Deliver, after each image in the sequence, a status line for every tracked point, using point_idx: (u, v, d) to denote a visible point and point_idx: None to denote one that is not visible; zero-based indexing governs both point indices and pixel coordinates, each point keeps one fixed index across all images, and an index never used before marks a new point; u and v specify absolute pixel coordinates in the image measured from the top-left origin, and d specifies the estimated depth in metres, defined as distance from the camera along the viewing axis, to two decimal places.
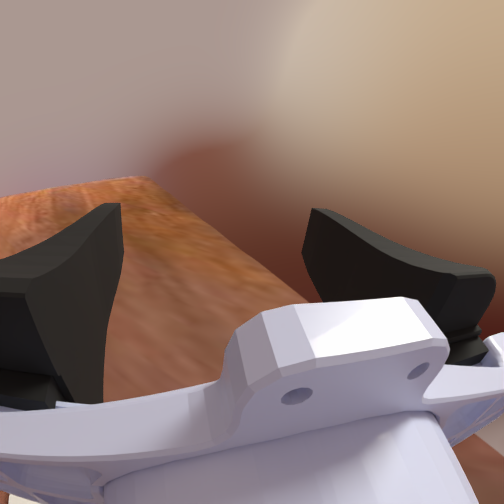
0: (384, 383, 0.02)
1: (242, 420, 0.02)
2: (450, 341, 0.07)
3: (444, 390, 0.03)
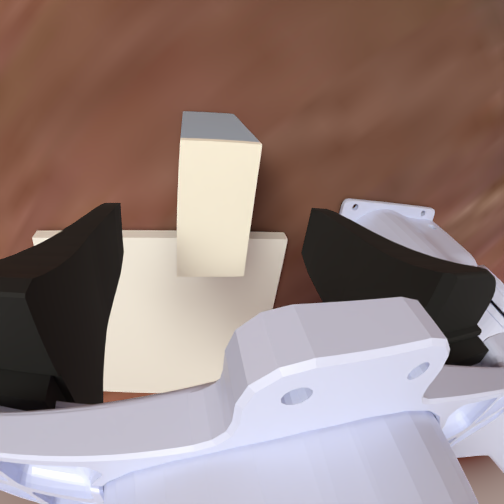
0: (384, 383, 0.02)
1: (242, 420, 0.02)
2: (450, 341, 0.07)
3: (444, 390, 0.03)
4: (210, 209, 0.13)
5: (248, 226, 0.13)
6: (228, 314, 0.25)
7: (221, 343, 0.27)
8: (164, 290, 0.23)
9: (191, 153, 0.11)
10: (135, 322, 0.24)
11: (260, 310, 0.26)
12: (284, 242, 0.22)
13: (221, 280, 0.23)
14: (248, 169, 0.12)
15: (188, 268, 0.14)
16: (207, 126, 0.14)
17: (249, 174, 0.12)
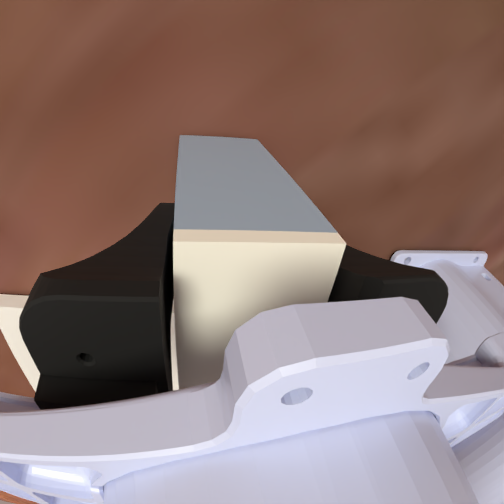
0: (384, 383, 0.02)
1: (241, 419, 0.02)
2: None
3: (444, 390, 0.03)
4: None
5: None
6: None
7: None
8: None
9: (198, 267, 0.05)
10: None
11: None
12: None
13: None
14: (314, 287, 0.06)
15: None
16: (224, 178, 0.08)
17: (315, 297, 0.06)
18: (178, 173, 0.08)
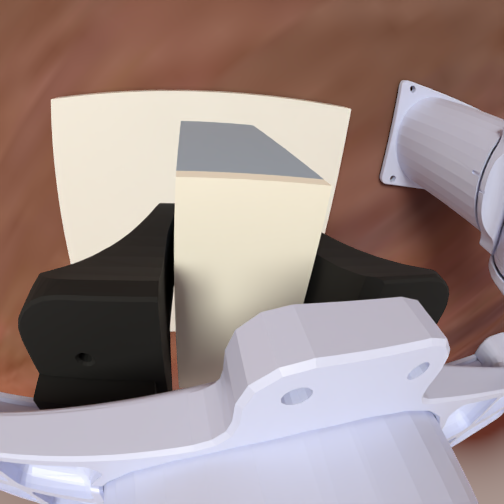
0: (384, 383, 0.02)
1: (241, 419, 0.02)
2: None
3: (444, 390, 0.03)
4: (233, 299, 0.07)
5: None
6: None
7: None
8: None
9: (197, 203, 0.06)
10: None
11: None
12: (347, 112, 0.18)
13: None
14: (304, 229, 0.07)
15: (196, 378, 0.08)
16: (221, 145, 0.08)
17: (306, 239, 0.07)
18: (180, 141, 0.08)
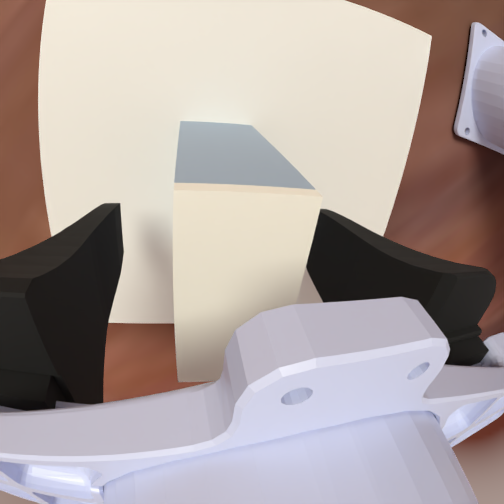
0: (384, 383, 0.02)
1: (242, 419, 0.02)
2: (450, 341, 0.07)
3: (444, 390, 0.03)
4: (229, 301, 0.08)
5: None
6: (353, 143, 0.14)
7: (331, 207, 0.16)
8: (260, 74, 0.12)
9: (194, 214, 0.06)
10: None
11: (395, 145, 0.15)
12: (428, 38, 0.12)
13: (351, 72, 0.12)
14: (296, 238, 0.07)
15: (194, 374, 0.09)
16: (219, 151, 0.09)
17: (297, 247, 0.07)
18: (179, 147, 0.09)
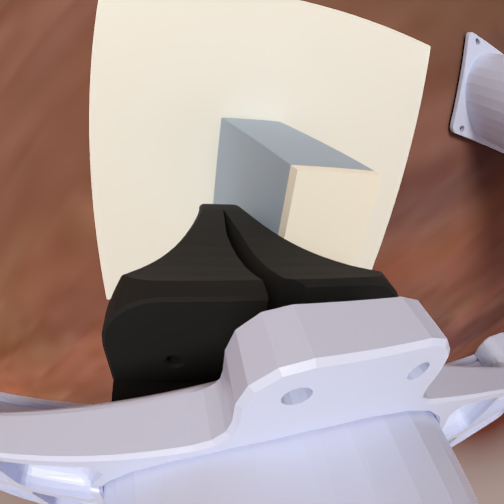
0: (384, 383, 0.02)
1: (242, 420, 0.02)
2: None
3: (444, 390, 0.03)
4: None
5: None
6: (363, 138, 0.16)
7: None
8: (287, 79, 0.14)
9: (308, 187, 0.08)
10: None
11: (399, 140, 0.17)
12: (427, 48, 0.14)
13: (362, 78, 0.15)
14: (365, 204, 0.09)
15: None
16: (287, 143, 0.11)
17: (365, 211, 0.10)
18: (255, 139, 0.11)
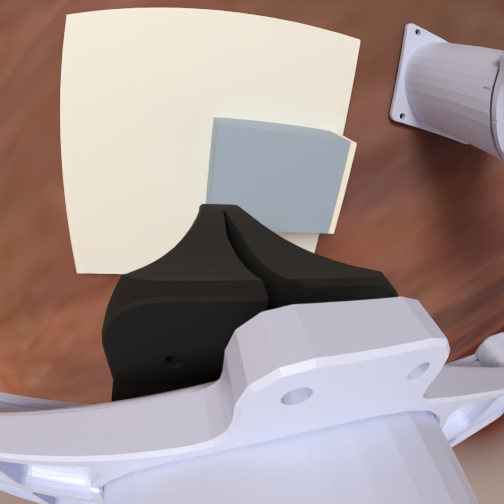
0: (384, 383, 0.02)
1: (241, 420, 0.02)
2: None
3: (444, 390, 0.03)
4: None
5: None
6: None
7: None
8: (218, 80, 0.17)
9: None
10: (171, 131, 0.18)
11: (330, 129, 0.19)
12: (357, 42, 0.16)
13: (289, 74, 0.17)
14: None
15: None
16: (301, 130, 0.17)
17: None
18: (304, 134, 0.16)
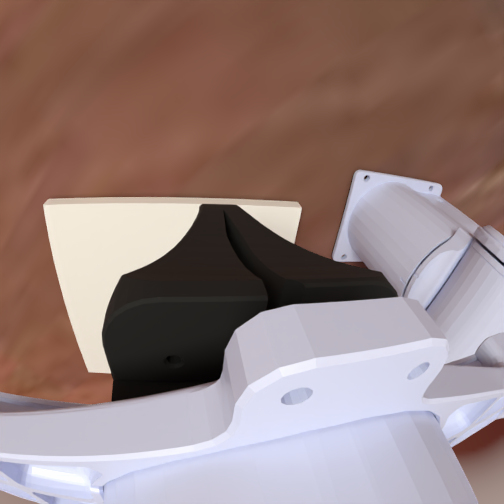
0: (384, 383, 0.02)
1: (241, 420, 0.02)
2: None
3: (444, 390, 0.03)
4: None
5: None
6: None
7: None
8: None
9: None
10: None
11: None
12: (298, 210, 0.22)
13: None
14: None
15: None
16: None
17: None
18: None
